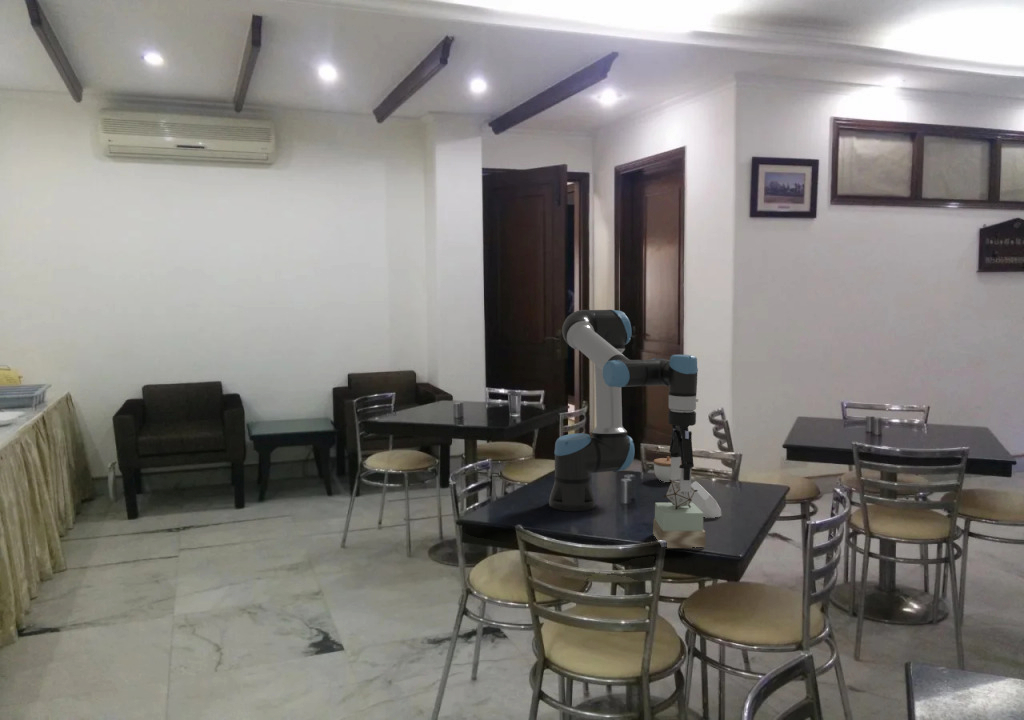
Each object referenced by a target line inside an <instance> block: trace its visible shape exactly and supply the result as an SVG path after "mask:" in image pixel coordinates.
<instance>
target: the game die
mask: <svg viewBox="0 0 1024 720" xmlns="http://www.w3.org/2000/svg"><path fill="white" fill-rule="evenodd" d="M669 480H670V479H669ZM670 482H671V483H669V486H668V488H667V491H666V493H665V495H663V496H662V497H663V498H667V500H668V501H669V502H670V503H672V504H673V505H675V506H676V508H675V509H676V510H677V507H681V506H689V507H690V508H691V506H690V505H689V504H690V502H691V501H692V497H693V495H694V492H697V491H698V490H693V489H692V488H691V492H681V491H680V480H676V481H673V482H672V481H671V480H670Z"/></svg>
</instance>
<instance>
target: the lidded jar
mask: <svg viewBox="0 0 1024 720" xmlns="http://www.w3.org/2000/svg"><path fill="white" fill-rule="evenodd" d="M681 465H682V463H681ZM653 470H654V474H655V477H656V478H657V479H658V480H659V481H660V480H661V481H664V482H663V483H665V482H670V480H671V479H670V476H671V456H666V458H665V457H660V458H655V459H654V460H653ZM680 476H681V472H680ZM669 479H670V480H669ZM661 481H660V482H661ZM671 481H672V482H673V481H677V480H671Z"/></svg>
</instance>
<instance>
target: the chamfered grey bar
mask: <svg viewBox="0 0 1024 720" xmlns="http://www.w3.org/2000/svg"><path fill="white" fill-rule="evenodd" d="M691 488H692V489H693V490H698V491H697V492H694V495H693V497H692V501H691V502H690V503H694V504H695V505H696V506H697V507H698V508H699V509H700V510H701V511H702V512H703V517H705V519H716V518H715V517H718V518H720V517H722V515H723V514H722V509H721V507H720V505H719V504H718V501H717V499H715V498H714V497H713V496H712V495H711V494H710V493H709V492H708V491H707V490H706V489H705V487H703V486H702V485H701V484H700V483H699V482H698V481H697V480H695V481H693V482H691Z"/></svg>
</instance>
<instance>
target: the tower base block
mask: <svg viewBox="0 0 1024 720" xmlns="http://www.w3.org/2000/svg"><path fill="white" fill-rule="evenodd" d="M652 520H653V525H652V528H653V529H652V534H654V535H653V536H655V537H656V539H657V540H666V542H667V548H666V549H693V548H692V547H695V548H694V549H697V548H696V547H705V548H706V530H705V529H704V528H703V531H663V530H662V529H661V528H660V526H659V525H658V523H657V522H656V521H655V518H653V519H652ZM655 537H654V538H655ZM656 539H655V540H656ZM657 540H656V541H657Z"/></svg>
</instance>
